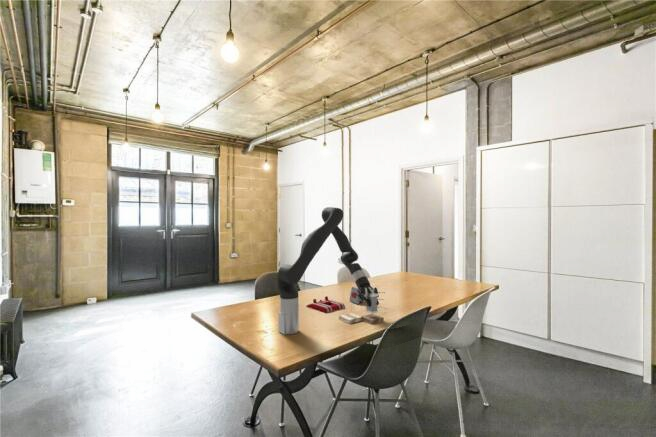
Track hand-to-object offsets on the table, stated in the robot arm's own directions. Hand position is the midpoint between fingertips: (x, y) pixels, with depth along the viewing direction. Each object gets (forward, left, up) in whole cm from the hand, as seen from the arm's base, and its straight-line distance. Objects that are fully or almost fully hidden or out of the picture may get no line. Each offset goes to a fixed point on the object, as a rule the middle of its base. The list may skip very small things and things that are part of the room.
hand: (374, 305), depth 176 cm
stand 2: (0, +2, -9) cm, 9 cm away
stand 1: (-9, +10, -9) cm, 16 cm away
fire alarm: (-5, +40, -10) cm, 41 cm away
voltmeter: (+21, +30, -9) cm, 38 cm away
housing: (0, +2, -4) cm, 5 cm away
